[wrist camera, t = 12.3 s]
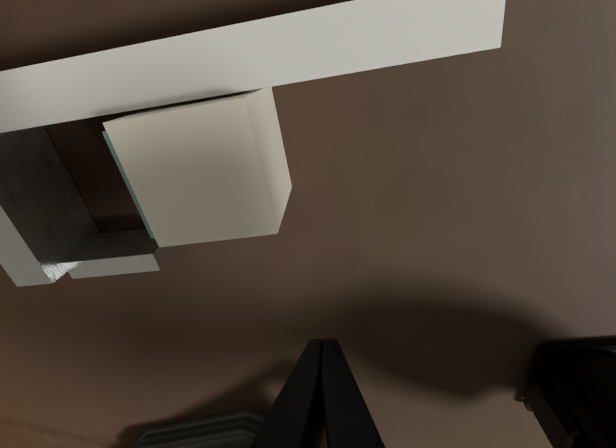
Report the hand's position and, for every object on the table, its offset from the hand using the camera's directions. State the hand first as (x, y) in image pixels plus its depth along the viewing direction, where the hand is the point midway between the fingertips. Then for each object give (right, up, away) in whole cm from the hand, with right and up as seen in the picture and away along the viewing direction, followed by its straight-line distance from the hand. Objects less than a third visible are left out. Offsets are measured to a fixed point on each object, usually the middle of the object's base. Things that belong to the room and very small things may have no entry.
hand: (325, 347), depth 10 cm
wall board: (-5, +11, +4) cm, 13 cm away
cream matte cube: (-4, +8, +6) cm, 11 cm away
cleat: (-12, +6, +8) cm, 15 cm away
